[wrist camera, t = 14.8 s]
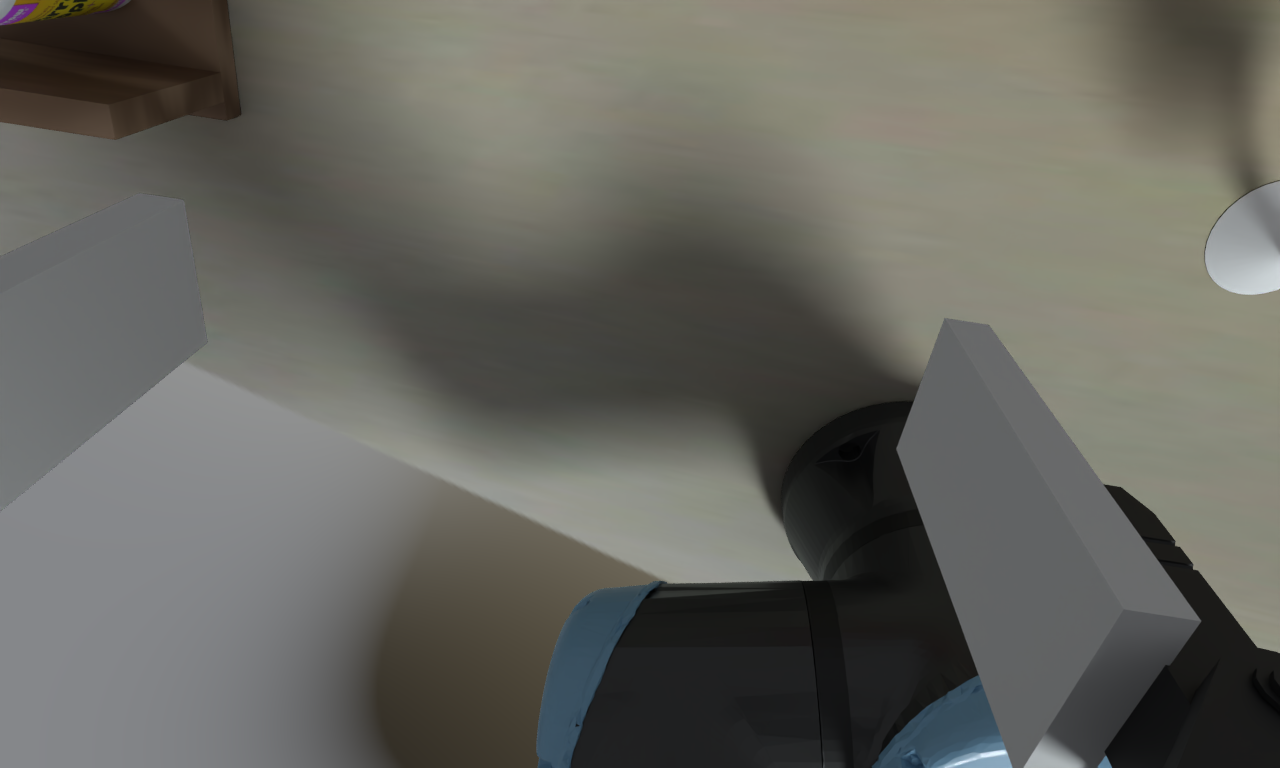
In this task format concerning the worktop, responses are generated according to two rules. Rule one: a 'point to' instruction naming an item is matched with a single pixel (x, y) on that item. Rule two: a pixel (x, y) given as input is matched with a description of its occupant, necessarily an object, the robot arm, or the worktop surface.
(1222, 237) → the champagne flute
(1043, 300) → the worktop surface
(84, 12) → the supplement bottle
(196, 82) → the holder
